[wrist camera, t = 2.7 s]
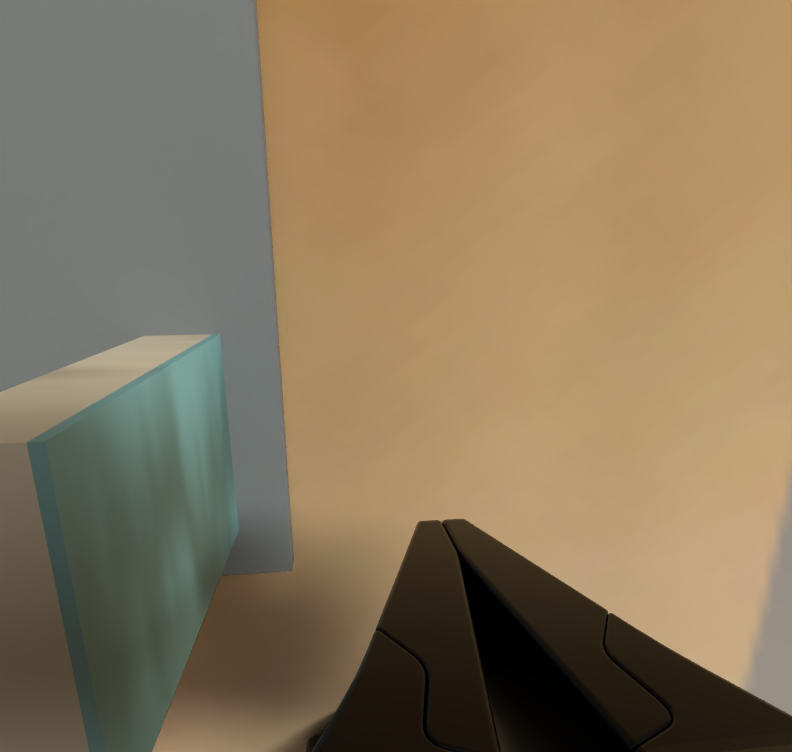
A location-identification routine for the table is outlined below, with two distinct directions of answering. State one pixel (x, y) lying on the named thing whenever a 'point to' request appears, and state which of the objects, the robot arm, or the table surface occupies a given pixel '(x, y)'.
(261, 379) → the mat
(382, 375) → the table surface
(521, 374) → the table surface
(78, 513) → the tile
